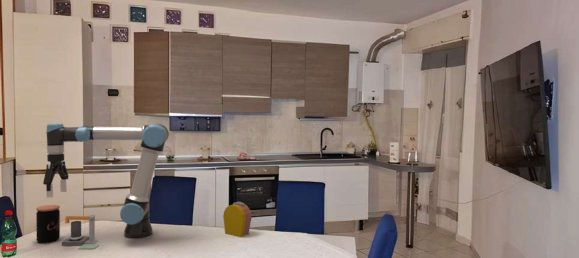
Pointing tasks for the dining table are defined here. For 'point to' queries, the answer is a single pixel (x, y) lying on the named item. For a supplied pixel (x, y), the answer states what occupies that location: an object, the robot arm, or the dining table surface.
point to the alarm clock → (237, 219)
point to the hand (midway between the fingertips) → (56, 194)
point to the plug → (76, 231)
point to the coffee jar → (48, 223)
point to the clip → (79, 218)
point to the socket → (83, 237)
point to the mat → (88, 246)
